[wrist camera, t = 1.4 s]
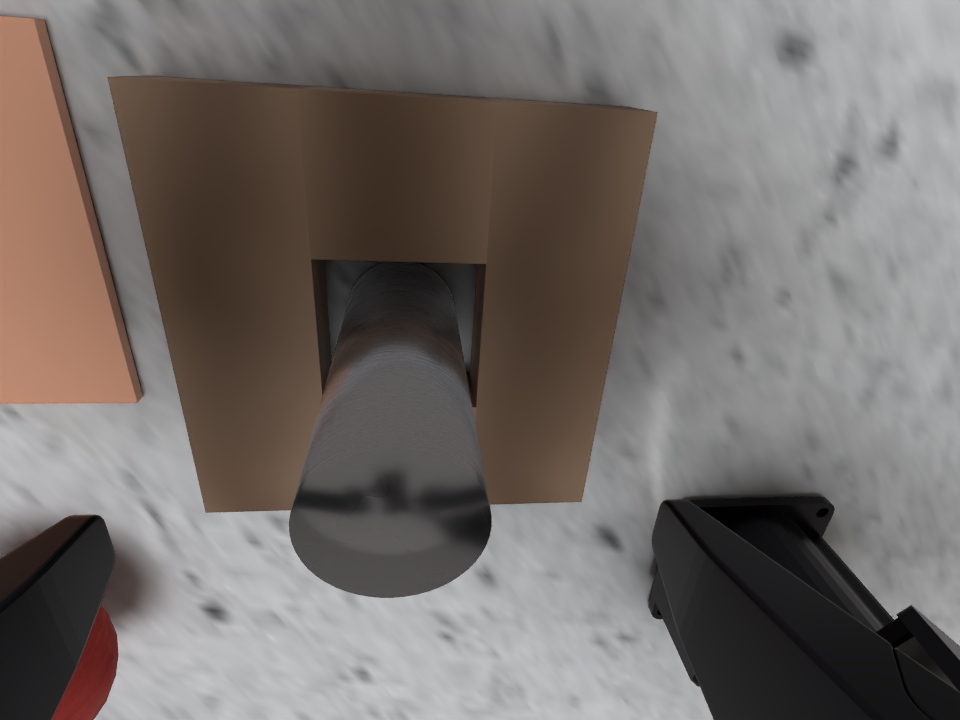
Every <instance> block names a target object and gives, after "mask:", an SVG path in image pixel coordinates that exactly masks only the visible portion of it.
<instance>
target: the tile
mask: <svg viewBox="0 0 960 720" xmlns="http://www.w3.org/2000/svg"><path fill="white" fill-rule="evenodd" d="M142 397H143V395H142V391H141V387H140V383H139V379H138V376H137V372H136V368H135V364H134V360H133V357H132V353H131V349H130V345H129V341H128V337H127V334H126V330H125V326H124V322H123V318H122V315H121V311H120V307H119V303H118V299H117V296H116V292H115V288H114V284H113V280H112V276H111V273H110V269H109V265H108V261H107V257H106V254H105V250H104V246H103V242H102V238H101V235H100V231H99V227H98V223H97V219H96V215H95V212H94V208H93V204H92V200H91V196H90V193H89V189H88V185H87V181H86V177H85V173H84V170H83V166H82V162H81V158H80V154H79V151H78V147H77V143H76V139H75V135H74V132H73V128H72V124H71V120H70V116H69V112H68V109H67V105H66V101H65V97H64V93H63V90H62V86H61V82H60V78H59V74H58V71H57V67H56V63H55V59H54V55H53V51H52V48H51V44H50V40H49V36H48V32H47V29H46V25H45V21H44V20H42V19H34V18H21V17H8V16H0V404H35V403H138V401H139V400H140V399H141V398H142Z"/></svg>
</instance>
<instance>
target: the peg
mask: <svg viewBox="0 0 960 720" xmlns="http://www.w3.org/2000/svg"><path fill="white" fill-rule="evenodd" d="M490 531H491V511H490V505H489V499H488V494H487V488H486V482H485V477H484V471H483V465H482V460H481V454H480V448H479V443H478V437H477V431H476V426H475V420H474V414H473V409H472V403H471V397H470V392H469V386H468V380H467V375H466V369H465V363H464V357H463V352H462V346H461V340H460V335H459V329H458V323H457V318H456V312H455V306H454V301H453V297H452V294H451V291H450V289H449V287H448V286H447V284H446V283H445V281H444V280H443V279H442V278H441V277H440V276H439V275H438V274H437V273H436V272H435V271H433V270H432V269H430V268H429V267H427V266H425V265H423V264H420V263H417V262H393V261H387V262H384V263H380V264H378V265H376V266H374V267H372V268H371V269H369V270H368V271H366V272H365V273H364V274H363V275H362V276H361V277H360V278H359V279H358V280H357V282H356V283H355V285H354V287H353V289H352V291H351V294H350V297H349V301H348V304H347V308H346V312H345V315H344V319H343V323H342V326H341V330H340V334H339V337H338V341H337V345H336V348H335V352H334V356H333V359H332V363H331V367H330V370H329V374H328V378H327V381H326V385H325V389H324V392H323V396H322V400H321V403H320V407H319V411H318V414H317V418H316V422H315V425H314V429H313V433H312V436H311V440H310V444H309V447H308V451H307V455H306V458H305V462H304V466H303V469H302V473H301V477H300V480H299V484H298V488H297V491H296V495H295V499H294V502H293V506H292V510H291V514H290V521H289V532H290V537H291V542H292V545H293V547H294V549H295V552H296V553H297V555H298V557H299V558H300V560H301V561H302V562H303V563H304V565H305V566H306V567H307V568H308V569H309V570H310V571H311V572H312V573H314V574H315V575H316V576H317V577H319V578H320V579H322V580H323V581H325V582H326V583H328V584H330V585H332V586H334V587H336V588H339V589H342V590H344V591H347V592H351V593H354V594H358V595H363V596H369V597H380V598H394V597H405V596H411V595H416V594H420V593H424V592H428V591H431V590H433V589H436V588H439V587H441V586H443V585H445V584H447V583H449V582H451V581H452V580H454V579H456V578H457V577H459V576H460V575H461V574H463V573H464V572H465V571H466V570H468V569H469V568H470V567H471V566H472V565H473V564H474V563H475V562H476V560H477V559H478V558H479V556H480V555H481V554H482V552H483V550H484V548H485V546H486V544H487V542H488V539H489V536H490Z"/></svg>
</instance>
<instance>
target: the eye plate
mask: <svg viewBox="0 0 960 720" xmlns="http://www.w3.org/2000/svg"><path fill="white" fill-rule="evenodd" d="M108 82H109V86H110V90H111V95H112V99H113V104H114V108H115V113H116V117H117V122H118V126H119V130H120V135H121V139H122V144H123V148H124V153H125V157H126V161H127V166H128V170H129V175H130V179H131V184H132V188H133V192H134V197H135V201H136V206H137V210H138V215H139V219H140V223H141V228H142V232H143V237H144V241H145V246H146V250H147V254H148V259H149V263H150V268H151V272H152V277H153V281H154V285H155V290H156V294H157V299H158V303H159V308H160V312H161V316H162V321H163V325H164V330H165V334H166V339H167V343H168V347H169V352H170V356H171V361H172V365H173V370H174V374H175V378H176V383H177V387H178V392H179V396H180V401H181V405H182V409H183V414H184V418H185V423H186V427H187V432H188V436H189V440H190V445H191V449H192V454H193V458H194V463H195V467H196V471H197V476H198V480H199V485H200V489H201V494H202V498H203V503H204V507H205V511H206V513H208V512H243V511H278V510H292V506H293V502H294V499H295V495H296V491H297V488H298V484H299V480H300V477H301V473H302V469H303V466H304V462H305V458H306V455H307V451H308V447H309V444H310V440H311V436H312V433H313V429H314V425H315V422H316V418H317V414H318V411H319V407H320V403H321V400H322V396H323V392H324V389H325V385H326V381H327V378H328V374H329V370H330V367H331V349H330V335H329V321H328V307H327V293H326V279H325V265H324V260H355V261H393V262H430V263H468V264H477V269H476V285H475V301H474V318H473V334H472V350H471V366H470V374H466V375H467V380H468V386H469V392H470V397H471V403H472V409H473V414H474V420H475V426H476V431H477V437H478V443H479V448H480V454H481V460H482V465H483V471H484V477H485V482H486V488H487V494H488V499H489V504H522V503H557V502H582V497H583V492H584V487H585V481H586V476H587V471H588V466H589V461H590V456H591V451H592V446H593V440H594V435H595V430H596V425H597V420H598V415H599V410H600V405H601V399H602V394H603V389H604V384H605V379H606V374H607V369H608V364H609V359H610V353H611V348H612V343H613V338H614V333H615V328H616V323H617V318H618V312H619V307H620V302H621V297H622V292H623V287H624V282H625V277H626V271H627V266H628V261H629V256H630V251H631V246H632V241H633V236H634V230H635V225H636V220H637V215H638V210H639V205H640V200H641V195H642V189H643V184H644V179H645V174H646V169H647V164H648V159H649V154H650V148H651V143H652V138H653V133H654V128H655V123H656V118H657V113H658V112H653V111H648V110H643V109H637V108H632V107H623V106H608V105H593V104H577V103H562V102H547V101H531V100H516V99H500V98H485V97H470V96H454V95H439V94H424V93H408V92H393V91H377V90H362V89H347V88H331V87H316V86H301V85H285V84H270V83H254V82H239V81H224V80H208V79H193V78H178V77H162V76H121V77H108Z"/></svg>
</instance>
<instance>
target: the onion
mask: <svg viewBox="0 0 960 720" xmlns="http://www.w3.org/2000/svg"><path fill="white" fill-rule="evenodd" d="M117 661H118V643H117V634H116V632H115V629H114V627H113V624H112V622H111V620H110V617H109V615H108V614H107V612H106V611H105V609H104V608H103V607H102V605H100V607H99V610H98V613H97V616H96V618H95V621H94V624H93V626H92V629H91V632H90V634H89V637H88V640H87V642H86V645H85V648H84V651H83V653H82V656H81V658H80V660H79V663H78V665H77V668H76V670H75V672H74V674H73V676H72V679H71V681H70V683H69V685H68V687H67V689H66V691H65V693H64V695H63V697H62V699H61V701H60V703H59V705H58V707H57V709H56V711H55V713H54V716H53V718H52V720H94V718H95V717H96V715H97V714H98V713H99V711H100V710H101V708H102V707H103V705H104V704H105V702H106V700H107V698H108V695H109V692H110V690H111V687H112V684H113V681H114V679H115V676H116V669H117Z"/></svg>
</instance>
